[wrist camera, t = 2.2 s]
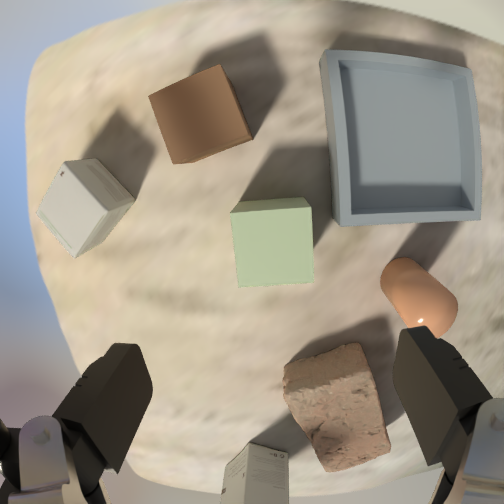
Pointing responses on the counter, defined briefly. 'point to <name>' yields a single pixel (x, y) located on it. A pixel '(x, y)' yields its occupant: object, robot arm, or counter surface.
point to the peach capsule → (418, 296)
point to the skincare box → (257, 477)
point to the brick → (337, 406)
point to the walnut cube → (200, 116)
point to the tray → (401, 139)
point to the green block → (273, 242)
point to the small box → (83, 205)
